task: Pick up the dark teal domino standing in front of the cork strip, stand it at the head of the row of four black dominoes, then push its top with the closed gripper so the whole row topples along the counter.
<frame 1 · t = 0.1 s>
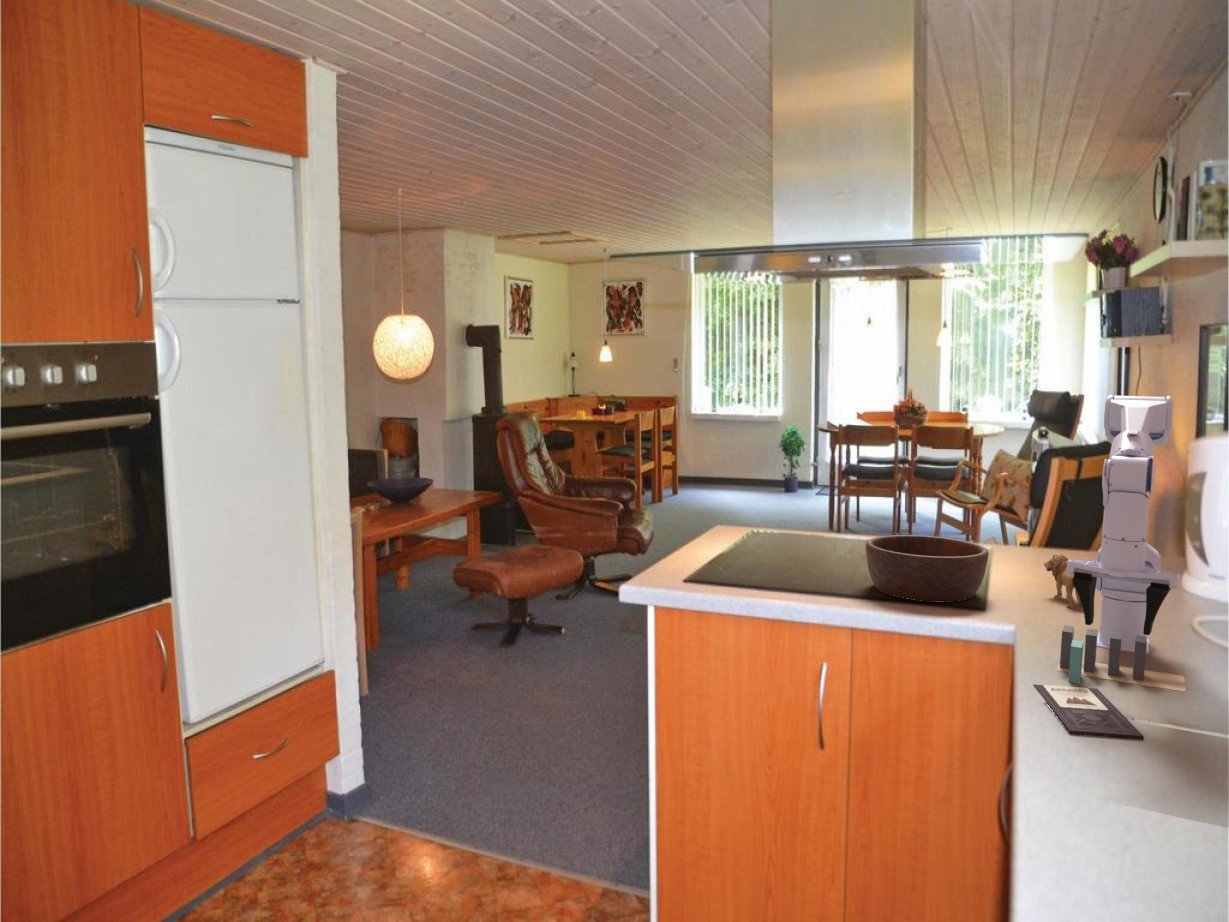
hand: (1117, 628, 135), 10 cm above the kitchen counter, tool pointing down, fingers open, 7 cm apart
chocolate bar: (1083, 716, 129), on the kitchen counter
domino 2: (1113, 672, 145), resting on cork strip
domino 3: (1089, 668, 146), resting on cork strip
lion figurine: (1065, 602, 191), on the kitchen counter
domino 4: (1065, 665, 148), resting on cork strip
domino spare: (1074, 681, 142), on the kitchen counter
wooden bowl: (923, 592, 198), on the kitchen counter
cork strip: (1119, 675, 144), on the kitchen counter
domino 1: (1138, 676, 143), resting on cork strip
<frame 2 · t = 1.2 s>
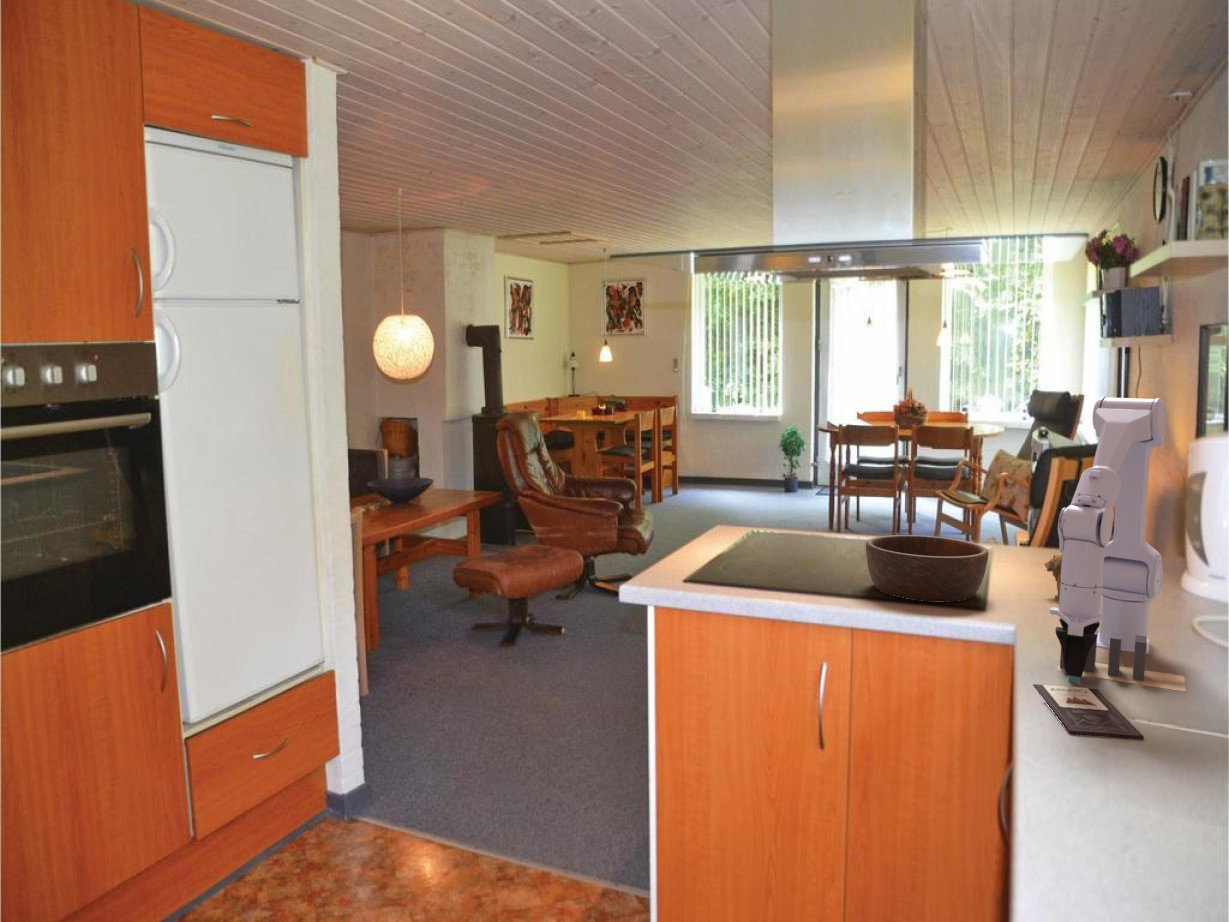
hand: (1075, 670, 141), 2 cm above the kitchen counter, tool pointing down, fingers open, 5 cm apart
domino 3: (1089, 668, 146), resting on cork strip, touching gripper
domino 4: (1065, 665, 148), resting on cork strip, touching gripper
everything else where it was.
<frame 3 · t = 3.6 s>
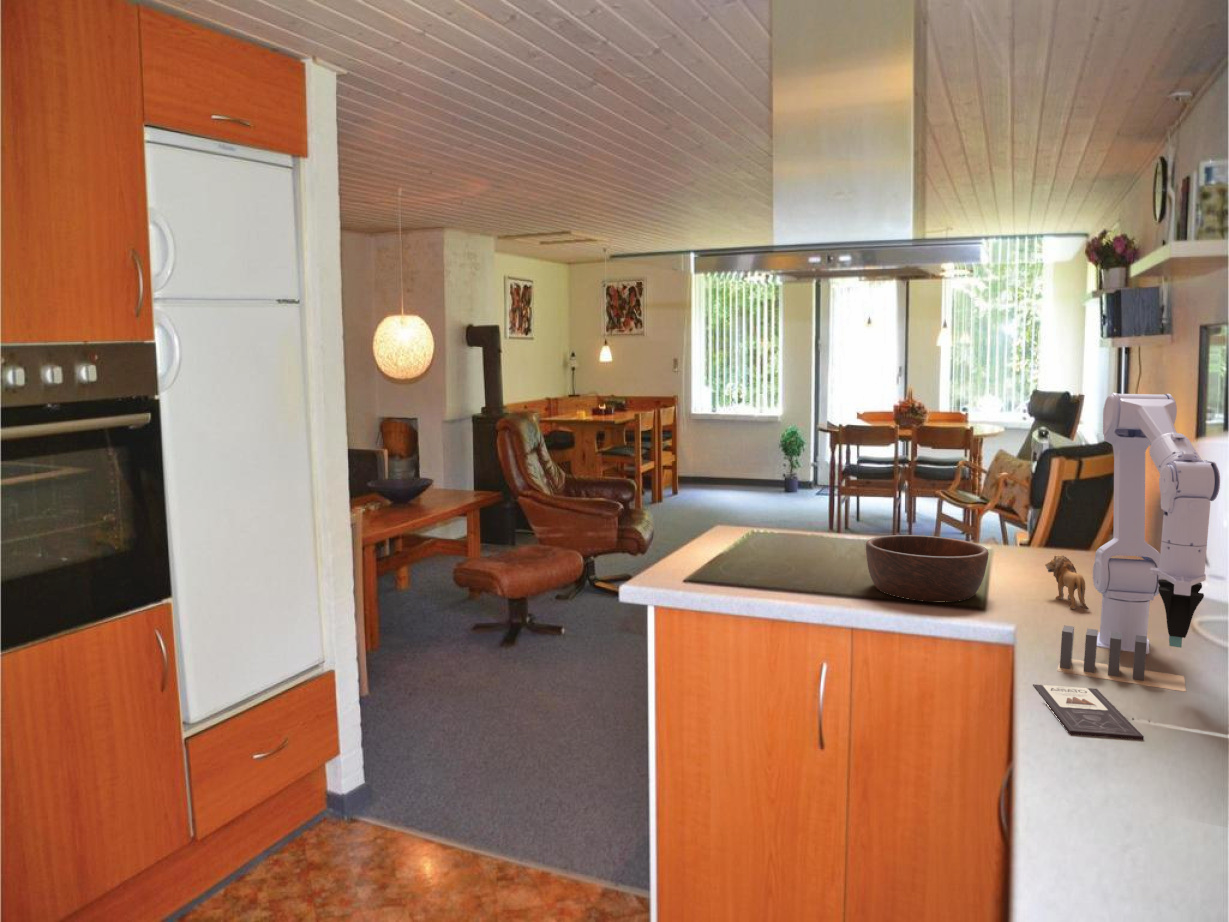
hand: (1176, 632, 136), 9 cm above the kitchen counter, tool pointing down, fingers closed on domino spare, 4 cm apart
domino 3: (1089, 668, 146), resting on cork strip
domino 4: (1065, 665, 148), resting on cork strip
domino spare: (1175, 643, 136), point 8 cm above the kitchen counter, touching gripper
when the fingers open (3 cm above the kitchen counter, at t = 5.6 s): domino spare stays where it is, resting on cork strip.
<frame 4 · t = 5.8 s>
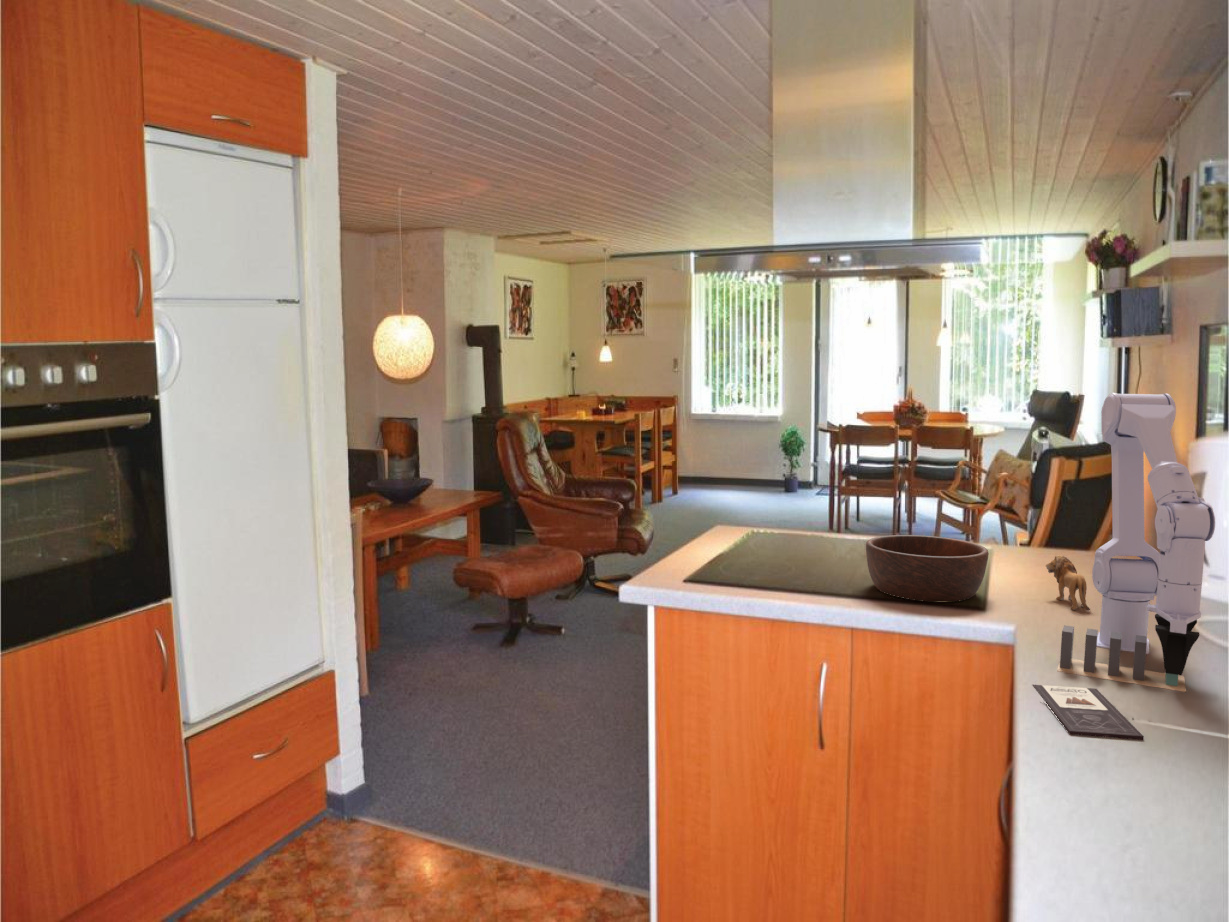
hand: (1172, 667, 141), 3 cm above the kitchen counter, tool pointing down, fingers open, 6 cm apart
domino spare: (1171, 681, 141), resting on cork strip
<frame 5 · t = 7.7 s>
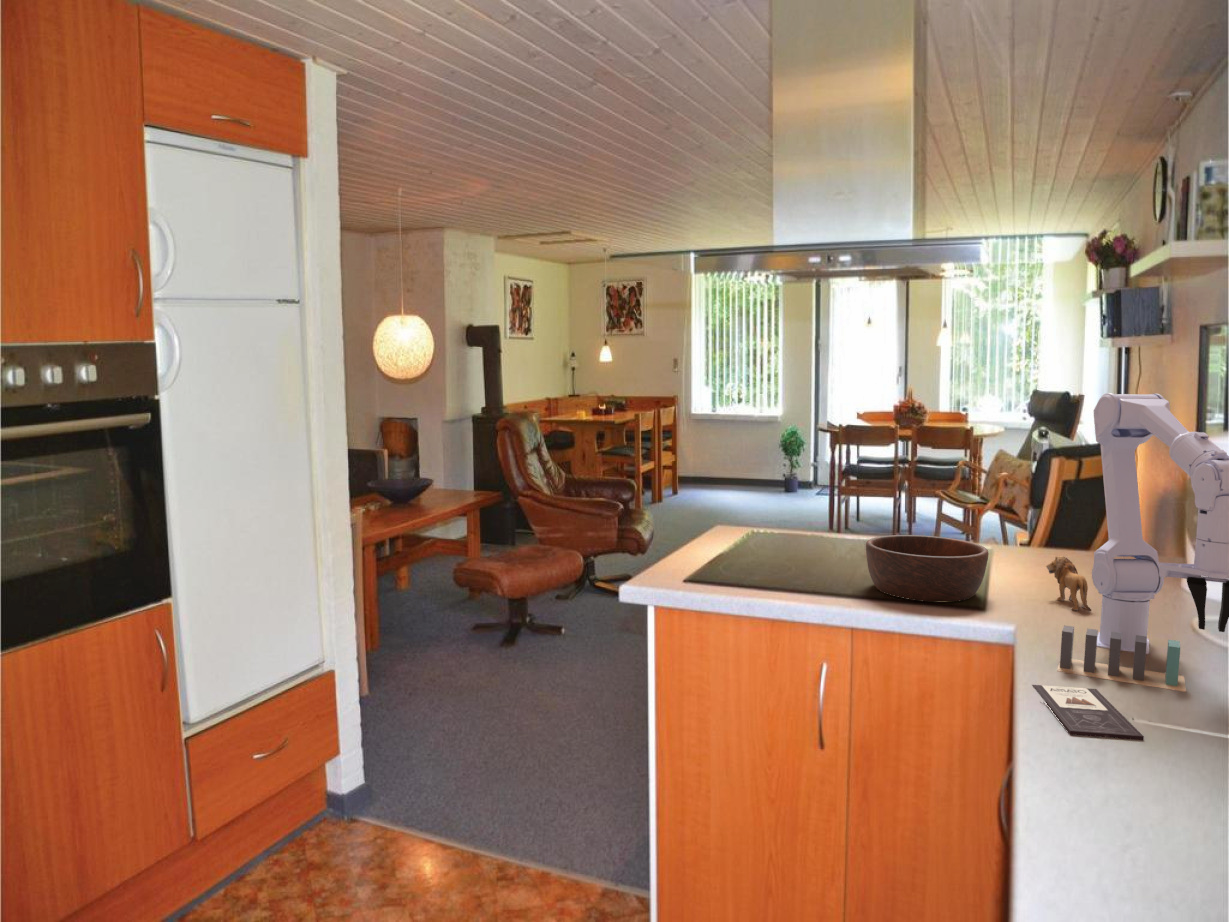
hand: (1211, 629, 138), 9 cm above the kitchen counter, tool pointing down, fingers closed
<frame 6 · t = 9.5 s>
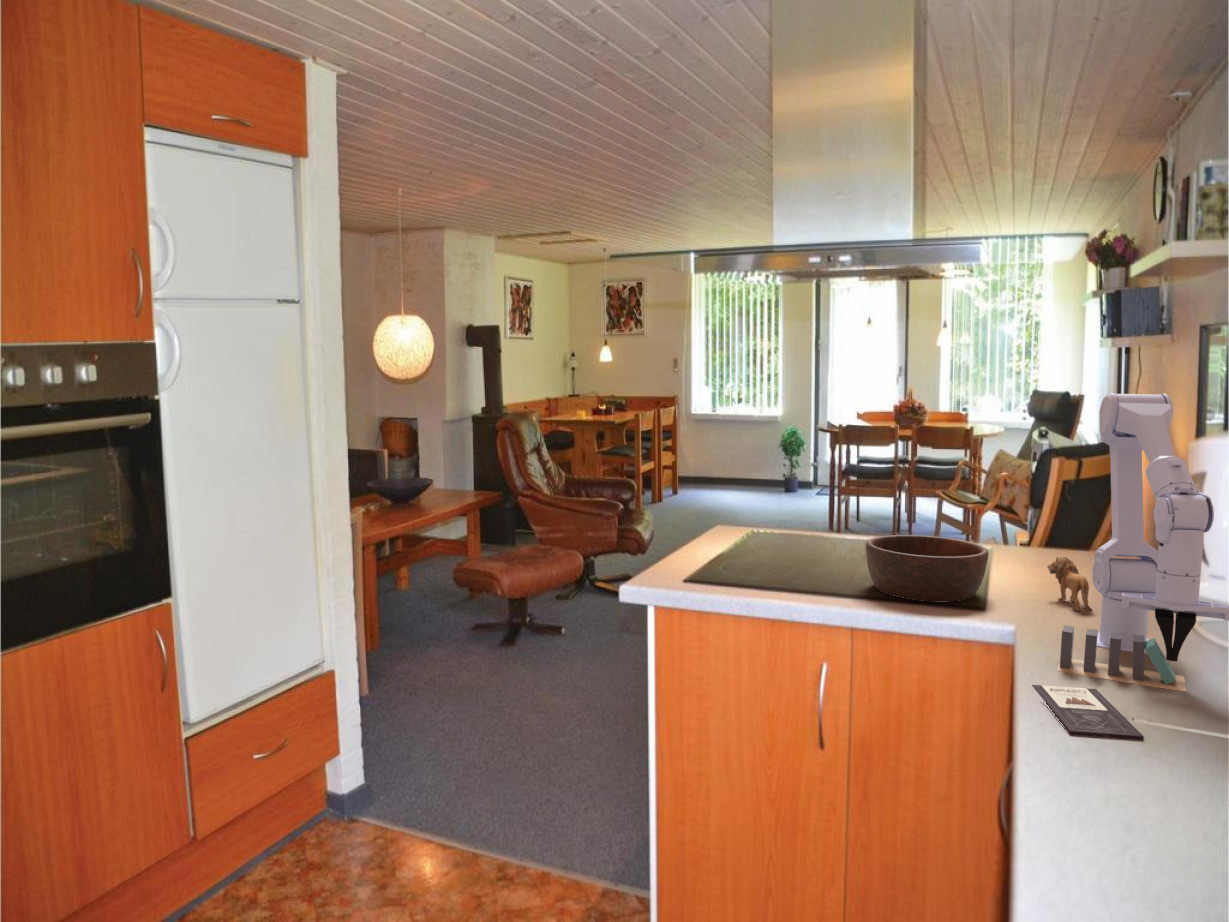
hand: (1171, 659, 141), 4 cm above the kitchen counter, tool pointing down, fingers closed
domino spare: (1170, 678, 141), point 1 cm above the kitchen counter, tilted 32°, touching cork strip
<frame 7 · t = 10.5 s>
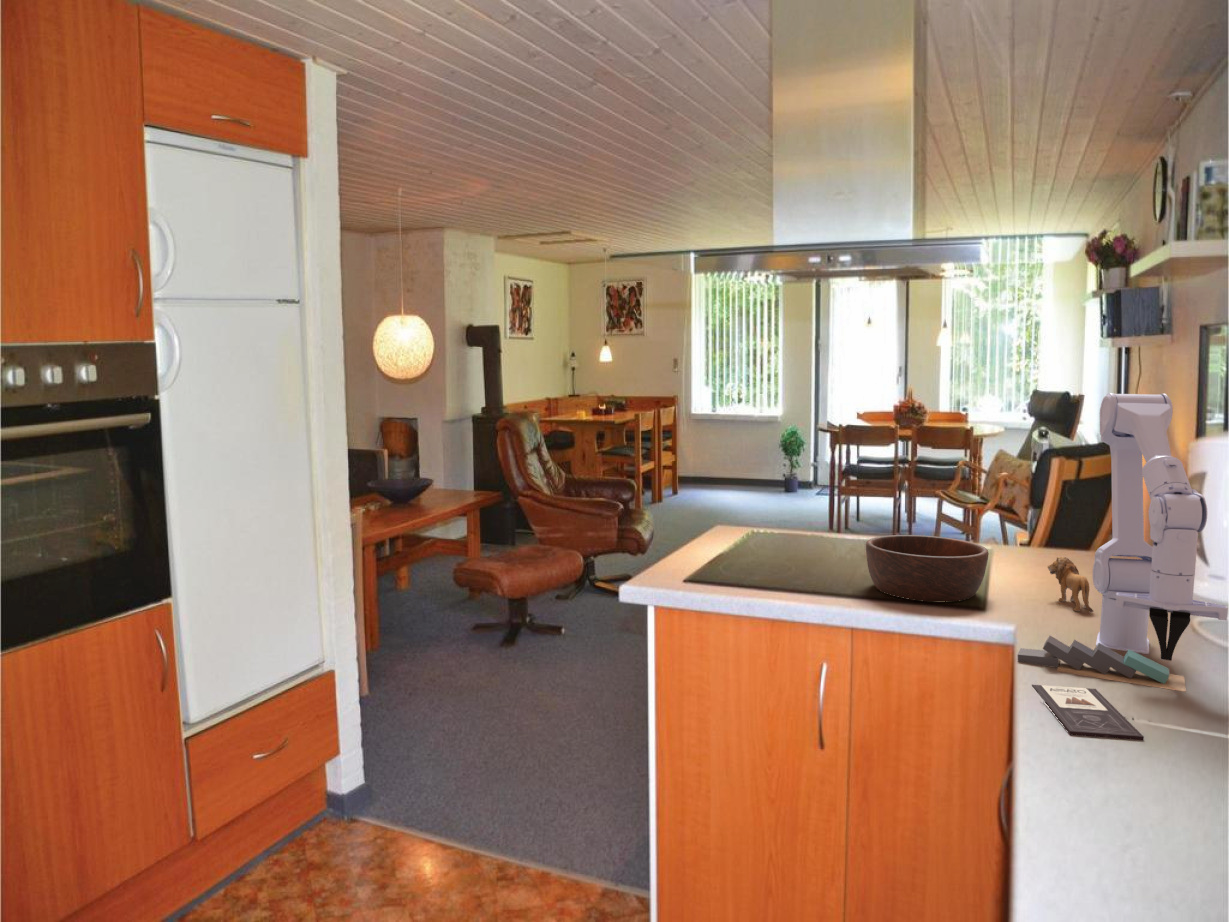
hand: (1166, 658, 141), 4 cm above the kitchen counter, tool pointing down, fingers closed
domino 2: (1108, 667, 145), point 1 cm above the kitchen counter, tilted 65°, touching cork strip, domino 1, domino 3
domino 3: (1082, 663, 147), point 1 cm above the kitchen counter, tilted 64°, touching cork strip, domino 2, domino 4
domino 4: (1059, 659, 149), point 1 cm above the kitchen counter, tilted 94°, touching cork strip, domino 3
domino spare: (1166, 676, 141), point 1 cm above the kitchen counter, tilted 69°, touching cork strip, domino 1
domino 1: (1133, 671, 143), point 1 cm above the kitchen counter, tilted 65°, touching cork strip, domino 2, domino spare
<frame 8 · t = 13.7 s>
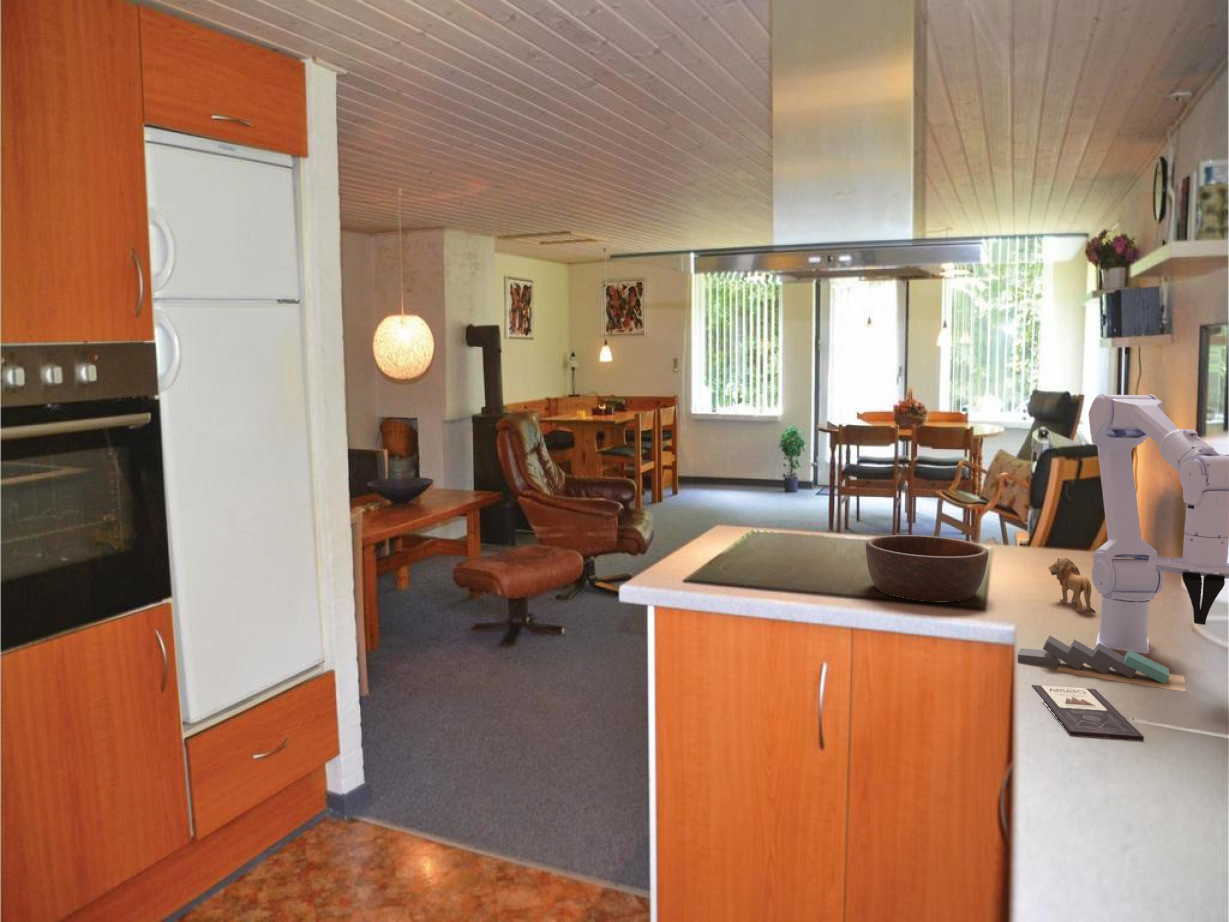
hand: (1199, 622, 139), 10 cm above the kitchen counter, tool pointing down, fingers closed
at the end: domino 4 tilted 94°; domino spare tilted 69° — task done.
